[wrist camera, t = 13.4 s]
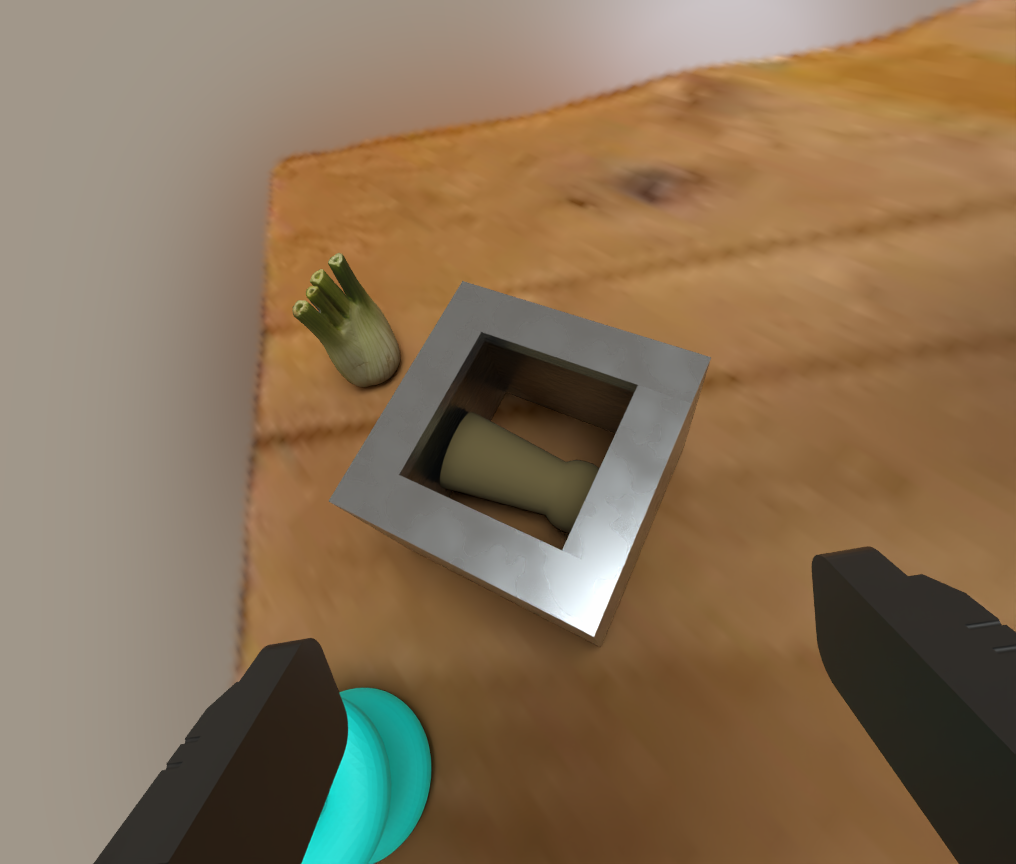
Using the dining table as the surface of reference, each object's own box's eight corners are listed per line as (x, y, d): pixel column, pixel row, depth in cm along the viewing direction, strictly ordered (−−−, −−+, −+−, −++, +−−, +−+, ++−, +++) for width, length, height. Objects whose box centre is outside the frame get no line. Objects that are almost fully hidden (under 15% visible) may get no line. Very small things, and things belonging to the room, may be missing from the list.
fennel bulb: (394, 332, 51) (334, 241, 40) (420, 367, 49) (364, 281, 38) (342, 367, 50) (267, 284, 40) (365, 404, 48) (293, 327, 38)
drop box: (500, 378, 47) (462, 281, 35) (684, 445, 42) (711, 357, 30) (408, 548, 42) (328, 501, 31) (600, 647, 37) (593, 636, 25)
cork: (478, 430, 44) (607, 480, 42) (446, 497, 42) (580, 553, 40) (471, 397, 39) (620, 454, 37) (434, 473, 37) (589, 536, 35)
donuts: (158, 818, 28) (288, 652, 31) (268, 783, 37) (362, 656, 40) (279, 984, 25) (417, 781, 27) (369, 900, 34) (466, 754, 36)
